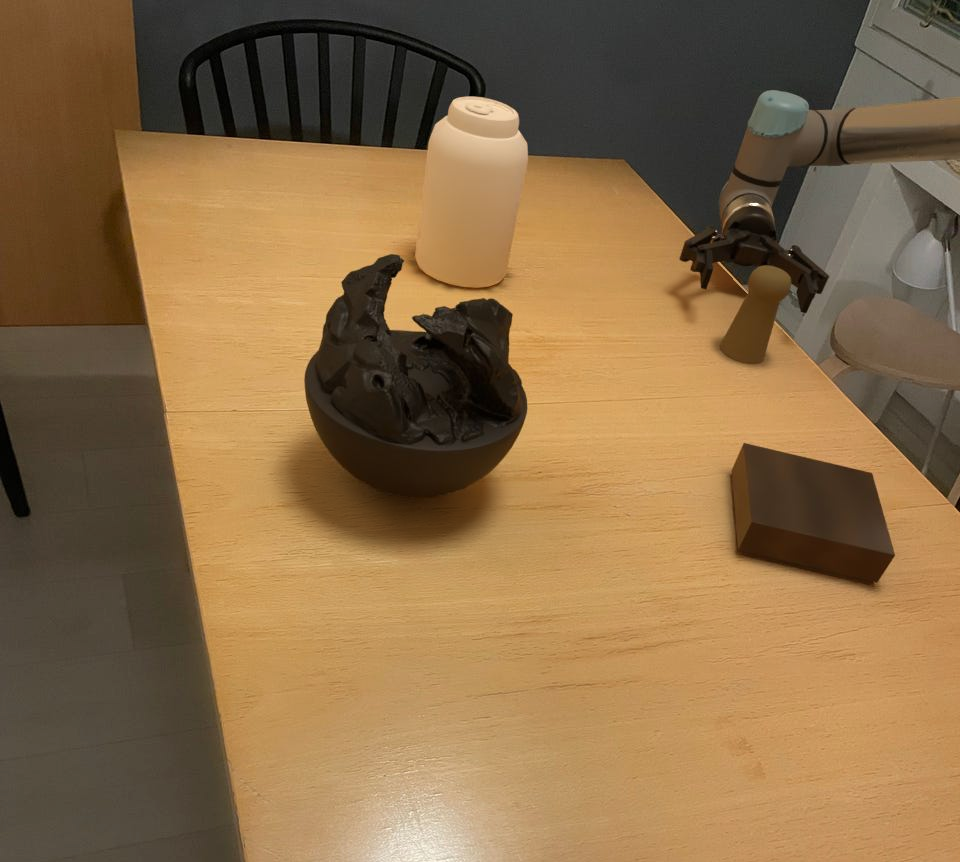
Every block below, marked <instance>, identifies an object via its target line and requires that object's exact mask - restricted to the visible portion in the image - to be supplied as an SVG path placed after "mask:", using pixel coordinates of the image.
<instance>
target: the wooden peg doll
mask: <svg viewBox="0 0 960 862" xmlns="http://www.w3.org/2000/svg"><path fill="white" fill-rule="evenodd" d="M791 287H792V284H791V278H790V276H789V275H788V274H787V273H786V272H785V271H784V270H782V269H780V268H777V267H774V266H768V265H764V266H756V268H754V270H752V272H751V273H750V276H749V278H748V281H747V289H748V292H747V294H746V296H745V298H744V299H743V301H742V304H741V305H740V307H739V309H738V311H737V313H736V314H735V316H734V318H733V320H732V322H731V324H730V326H729V327H728V329H727V331H726V333H725V334H724V336H723V338H722V340H721V342H720V344H719V349H720V350H721V352H722V353H723V354H724V355H726V356H727V357H729V358H730V359H732V360H734V361H737V362H740V363H743V364H744V363H745V364H753V365H754V364H755V365H756V364H760V363H761V362H763V361H764V360H765V357H766V353H767V349H768V345H769V342H770V339H771V336H772V335H771V334H772V331H773V327H774V324H775V321H776V317H777V313H778V309H779V306H780V302H781V301H783V300H784V299H786V298H787V296H788V294H789V293H790V290H791Z"/></svg>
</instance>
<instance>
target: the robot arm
mask: <svg viewBox="0 0 960 862" xmlns="http://www.w3.org/2000/svg"><path fill="white" fill-rule="evenodd" d="M809 108H810V105H809V103H808V101H807V100H806V99H805V98H803V97H802V96H799V95H796V94H794V93H791V92H787V91H781V90H776V89H773V90H772V89H770V90H765V91H764V92H762V93H761V94H760V95H759V96H758V98H757V101H756V104H755V106H754V108H753V110H752V113H751V114H750V118H749V119H748V121H747V127H746V130H745V133H744V136H743V139H742V142H741V145H740V148H739V150H738V154H737V155H736V159H735V162H734V166H733V168H732V170H731V172H730V176H729V179H728V180H727V182H726V183H725V184H724V186H723V188H722V189H721V191H720V195H719V199H718V215H719V219H720V228H721V233H719V230H718V229H716V226H715V225H713V224H707V225H706V228H705V229H704V230H703V231H700V232H699V233H697V234H695V235H694V236H692V237H690V238H688V239H686V240H685V241H684V242H683V243H684V244H683V247H682V249H681V252H680V256H679V258H678V259H679V261H681V262H684V263H688V262H689V261H691V265H690V271H691V272H693V273H699V279H700V280H699V281H700V282H699V283H700V289H702V290H708V286H709V283H710V280H711V278H712V276H713V272H714V264H716V263H721V262H724V263H726V264H729V263H733V264H735V265H737V266H741V267H751V266H753V267H759V266H764V265H768V266H774V267H777V268H780V269H782V270H784V271H785V272H786V273H787V274H788V275H789V276H790V278H791V286H794V287H795V288H797V289H796V291H795V292H796V297H797V301H798V302H797V303H798V305H799V306H798V307H799V310H800V313H803V314H807V313H808V311H809V309H810V307H811V305H812V302H813V300H814V299H815V297H816V294H817V295H822V294H823V291H824V290H825V287H826V285H827V283H828V280H829V278H830V275H829V274H828V273H827V272H825V270H823V268H821V267H820V266H819V265H817V264H816V263H815V262H814V261H813V260H812V259H811V258H810V257H808V256H807V255H806V254H805V253H804V252H803V251H802V249H801V247H800V246H798V245H795V244H793V245H791V246H790V248H789V249H785V248H784V247H782V246H781V244H780V243H778V232H777V227H776V223H775V217H774V213H773V210H772V209H773V208H772V207H773V204H774V201H775V199H776V196H777V194H778V191H779V188H780V186H781V184H782V181H783V179H784V176H785V173H786V171H787V169H788V168H795V167H803V168H804V167H839V166H840V167H841V166H846V165H847V166H848V165H862V164H886V163H907V162H910V163H911V162H931V161H953V160H954V161H955V160H960V96H952V97H945V98H935V99H934V98H933V99H925V100H916V101H907V102H898V103H888V104H887V103H886V104H877V105H868V106H860V107H847V108H846V107H845V108H837V109H817V110H815V109H809Z"/></svg>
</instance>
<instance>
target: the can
mask: <svg viewBox="0 0 960 862" xmlns="http://www.w3.org/2000/svg"><path fill="white" fill-rule="evenodd" d="M519 126H520V116H519V113H518V112H517V110H516V109H514V108H513V107H511V106H510V105H508V104H506V103H503V102H501V101H498V100H495V99H491V98H488V97H483V96H474V95H473V96H467V95H466V96H461V97H456V98H454V99H453V100H452V102H451V103H450V104H449V107H448V111H447V115H445V116H444V117H443V118H441V119H440V120H439V121H437V122H436V123H435V124H434V126H433V129H432V132H431V134H430V137H429V140H428V145H427V151H426V152H427V153H426V160H425V170H424V178H423V185H422V194H421V202H420V211H419V221H418V230H417V237H416V244H415V245H416V246H415V252H414V258H415V261H416V264H417V265H418V268H419V269H420V270H421V271H423V272H424V274H426V275H428V276H429V277H432V278H433V279H435V280H436V281H439V282H441V283H445V284H447V285H451V286H452V285H453V286H456V287H462V288H475V289H476V288H477V289H479V288H487V287H491V286H494V285H497V284H499V283H500V282H501V281H503V279H504V278H505V276H506V275H507V271H508V265H509V260H510V255H511V250H512V245H513V240H514V236H515V229H516V225H517V219H518V215H519V209H520V205H521V204H520V203H521V199H522V193H523V188H524V184H525V178H526V173H527V168H528V162H529V150H528V149H529V148H528V142H527V141H526V139H525V137H524V136H523V134H522V133H521V131H520V130H519Z"/></svg>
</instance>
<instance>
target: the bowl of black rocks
mask: <svg viewBox="0 0 960 862" xmlns="http://www.w3.org/2000/svg"><path fill="white" fill-rule="evenodd" d="M404 262H405V259H404V258H402V257H401V256H400V255H399V254H396V253H395V254H394V253H390V254H387V255H384V256H380V257H378V258H377V259H376V260H375V262H374V263H372V264H368V265H366V266H362V267H361V268H358V269H356V270H352V271H350V272H349V273H348V274H347V275H346V276H345V277H344V278H343V280H342V281H341V282H340V283H341V288H342V290H343V294H342V295H340V296H338V297H337V298H336V299H335V300H334V301H333V303H332V304H331V306H330V307H329V309H328V311H327V312H326V315H325V322H324V324H323V326H322V334H321V335H322V336H321V337H322V338H321V341H320V344H319V347H318V350H316V352H315V353H314V354H313V355H312V356H311V358H310V359H309V361H308V363H307V365H306V367H305V370H304V371H305V372H304V377H303V378H304V379H303V381H304V382H303V383H304V394H305V401H306V405H307V408H308V412H309V415H310V419H311V422H312V424H313V426H314V429H315V431H316V433H317V436H318V437H319V439H320V441H321V442H322V444H323V445H324V447H325V448H326V450H327V451H328V453H329V454H330V455H331V456H332V458H333V459H334V460H335V461H336V462H337V463H338V464H339V465H340V467H341V468H343V469H344V470H345V471H347V472H348V473H349V474H350V475H351V476H353V477H354V478H355V479H357V480H358V481H360V482H362V483H363V484H364V485H367V486H368V487H371V488H373V489H375V490H377V491H379V492H382V493H386V494H389V495H393V496H397V497H402V498H408V499H409V498H411V499H431V498H437V497H442V496H446V495H450V494H454V493H456V492H459V491H462V490H463V489H466V488H468V487H471V486H472V485H473V484H475V483H477V482H479V481H481V480H482V479H483V478H484V477H486V476H487V475H488V474H490V473H491V472H492V471H493V470H494V469H495V468H496V467H498V465H499V464H500V463H501V462H502V461H503V460H504V458H506V456H507V454H509V452H510V451H511V449H512V448H513V447H514V445H515V444H516V441H517V439H518V437H519V435H520V434H521V431H522V428H523V426H524V424H525V421H526V417H527V414H528V397H527V394H526V391H525V389H524V387H523V382H522V381H523V380H522V378H521V377H520V375H519V373H518V371H517V370H515V369H514V368H513V367H512V366H511V364H510V363H509V362H510V361H509V360H510V359H509V358H510V331H511V327H512V323H513V316H514V313H513V312H512V311H510V310H509V309H508V308H506V306H504V305H503V304H501V303H500V302H499V301H498V300H497V299H495V298H487V299H486V298H485V297H482V298H476V299H475V298H474V299H470V300H465V301H459V303H458V304H456V305H455V306H454V307H452V308H450V307H448V306H446V305H443V306H437V307H435V308H434V311H433V313H432V315H430V314H425V313H422V314H419V315H413V316H411V320H412V321H413V322H414V323H415V324H417V326H418V327H420V328H421V329H422V330H424V331H418V330H417V331H415V330H404V329H403V330H402V329H401V330H400V329H390V327H389V325H388V324H387V320H386V318H385V310H386V303H387V299H388V294H389V291H390V288H391V286H392V281H393V279H395V278H396V277H397V275H398V274H399V273H400V272H401V271H402V269H403V264H404Z"/></svg>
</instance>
